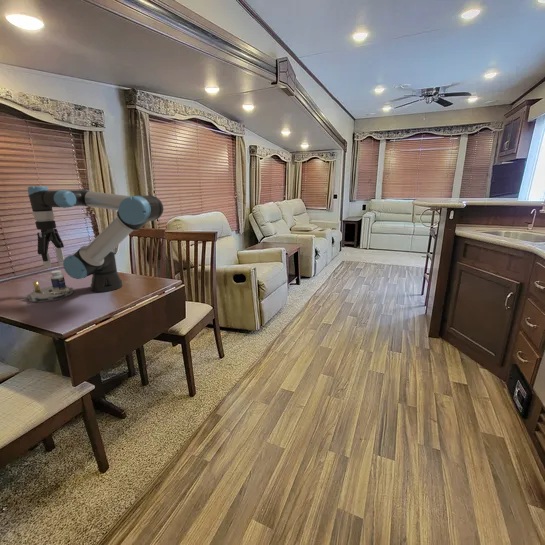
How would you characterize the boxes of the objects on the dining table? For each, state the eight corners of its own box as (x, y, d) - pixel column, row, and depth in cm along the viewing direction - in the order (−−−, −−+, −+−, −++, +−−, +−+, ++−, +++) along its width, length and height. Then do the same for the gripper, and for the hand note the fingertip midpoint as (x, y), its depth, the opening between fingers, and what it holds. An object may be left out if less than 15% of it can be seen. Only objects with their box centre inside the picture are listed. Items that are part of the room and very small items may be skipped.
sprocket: (72, 285, 159) (69, 274, 157) (73, 295, 145) (71, 283, 143) (29, 292, 149) (26, 280, 147) (26, 304, 135) (22, 290, 133)
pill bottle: (62, 291, 145) (58, 272, 142) (51, 291, 145) (46, 273, 142) (68, 288, 150) (65, 269, 147) (57, 288, 150) (53, 270, 147)
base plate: (81, 290, 153) (81, 290, 153) (48, 303, 137) (48, 303, 137) (54, 288, 158) (53, 287, 157) (19, 300, 141) (18, 299, 141)
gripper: (48, 217, 148) (58, 258, 154) (20, 223, 125) (32, 271, 131) (65, 217, 150) (73, 257, 156) (40, 223, 126) (51, 270, 133)
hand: (55, 264), depth 143 cm, fingers open, 13 cm apart
